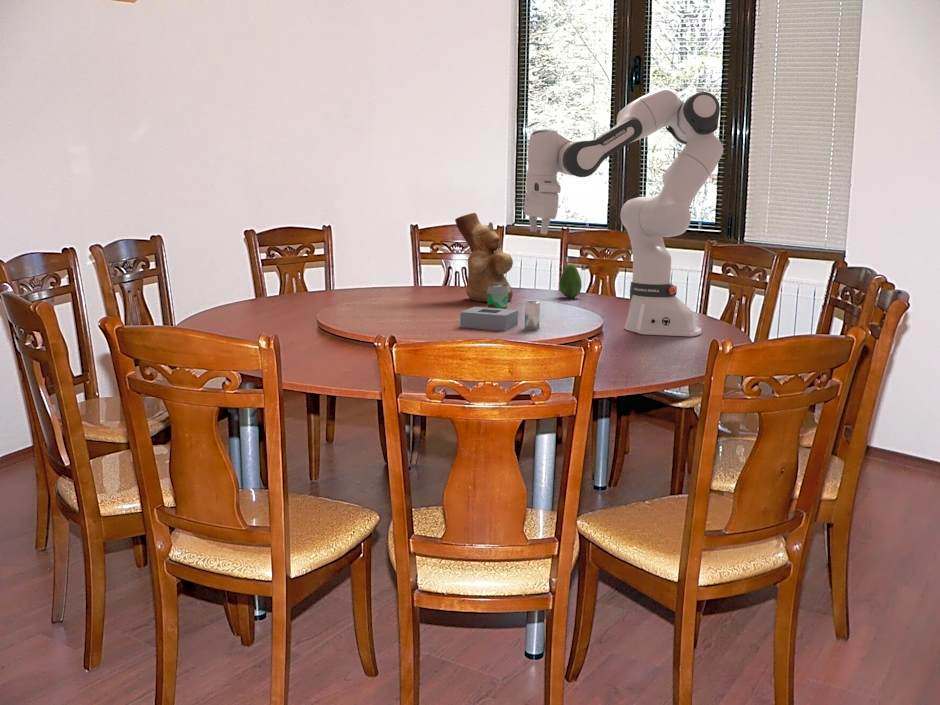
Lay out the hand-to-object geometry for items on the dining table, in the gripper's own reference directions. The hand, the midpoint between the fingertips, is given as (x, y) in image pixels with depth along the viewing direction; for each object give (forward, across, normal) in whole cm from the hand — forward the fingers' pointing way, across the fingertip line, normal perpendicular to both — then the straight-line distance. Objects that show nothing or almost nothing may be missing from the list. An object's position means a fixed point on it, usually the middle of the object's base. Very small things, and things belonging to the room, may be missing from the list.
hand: (538, 232), depth 316 cm
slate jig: (+28, -3, -13) cm, 31 cm away
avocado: (+27, -58, +33) cm, 72 cm away
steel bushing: (+28, +4, -2) cm, 28 cm away
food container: (+28, -20, -4) cm, 35 cm away
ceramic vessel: (+28, -56, 0) cm, 63 cm away
